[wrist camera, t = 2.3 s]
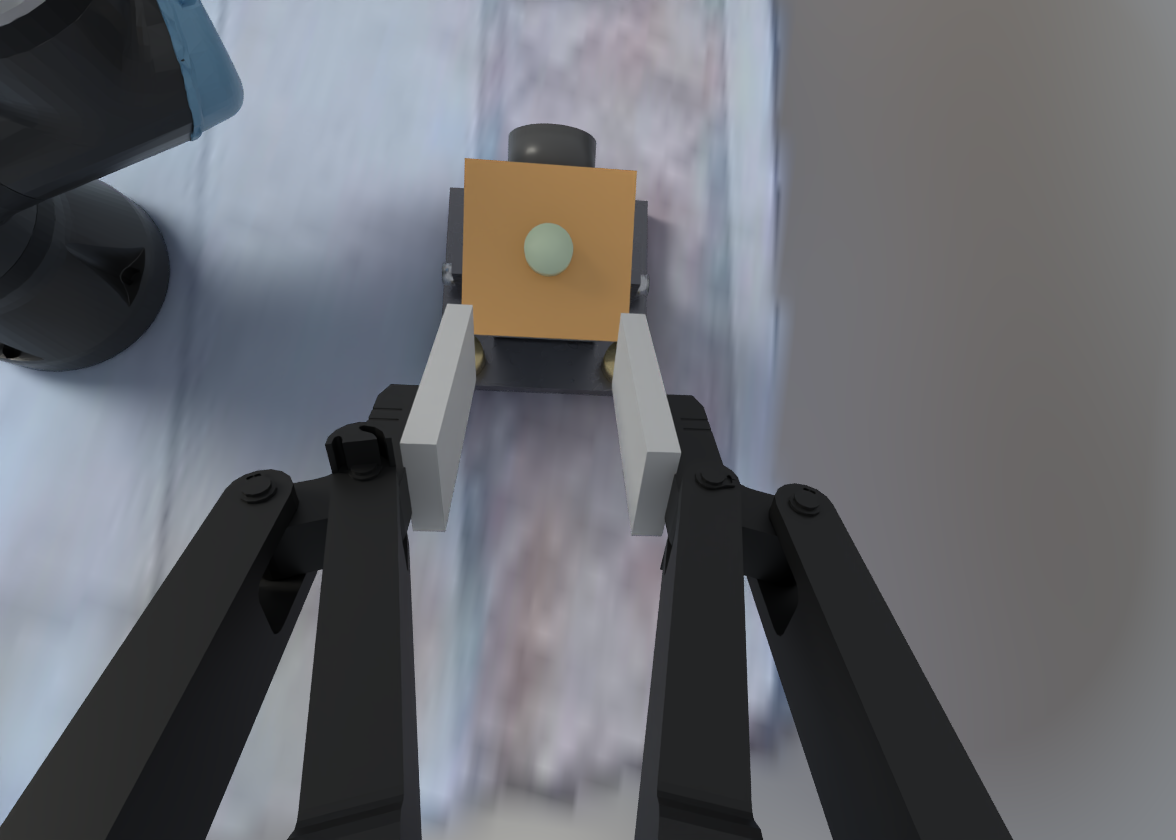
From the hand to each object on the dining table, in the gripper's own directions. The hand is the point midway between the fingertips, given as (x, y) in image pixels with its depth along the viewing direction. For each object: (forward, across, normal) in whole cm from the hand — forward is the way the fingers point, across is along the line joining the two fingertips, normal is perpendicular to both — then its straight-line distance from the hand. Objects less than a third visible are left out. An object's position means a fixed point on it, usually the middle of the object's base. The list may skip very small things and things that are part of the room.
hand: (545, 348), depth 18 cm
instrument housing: (+26, 0, -8) cm, 28 cm away
